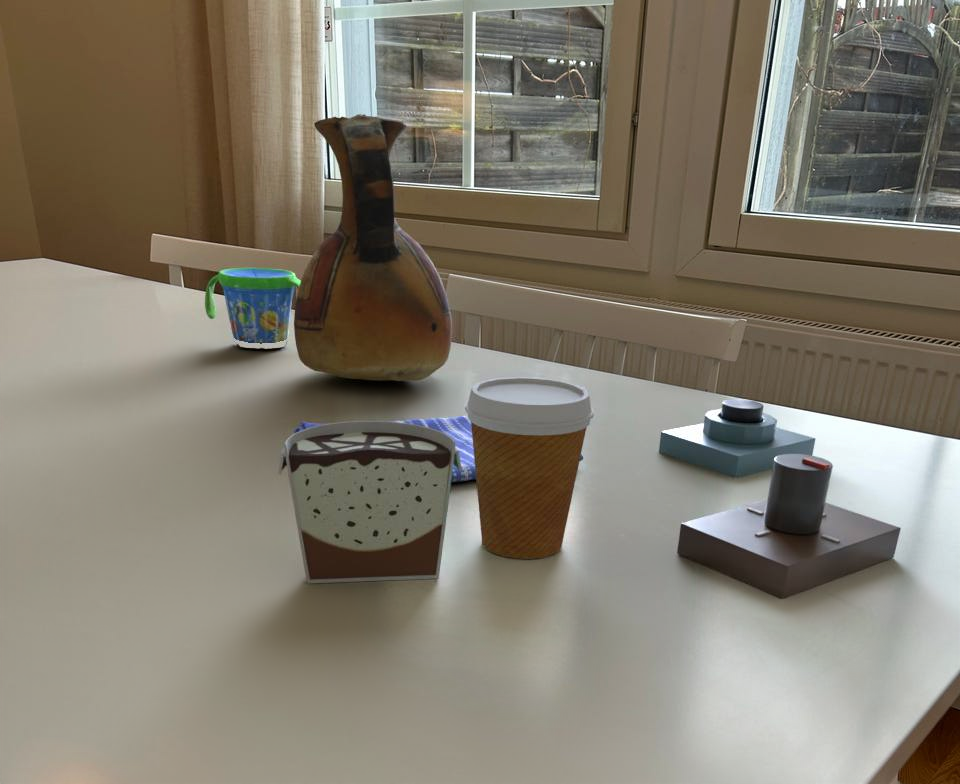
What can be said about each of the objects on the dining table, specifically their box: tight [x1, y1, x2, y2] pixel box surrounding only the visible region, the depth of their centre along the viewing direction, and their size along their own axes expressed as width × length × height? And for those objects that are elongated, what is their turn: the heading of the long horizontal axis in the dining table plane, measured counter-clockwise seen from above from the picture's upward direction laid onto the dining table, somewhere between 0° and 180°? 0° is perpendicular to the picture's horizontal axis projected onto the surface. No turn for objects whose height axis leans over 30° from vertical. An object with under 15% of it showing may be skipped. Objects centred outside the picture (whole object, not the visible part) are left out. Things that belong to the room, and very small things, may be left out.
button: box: [720, 398, 764, 423], centre depth 98 cm, size 4×4×2 cm
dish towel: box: [293, 415, 584, 483], centre depth 95 cm, size 17×24×3 cm
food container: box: [278, 420, 462, 584], centre depth 70 cm, size 12×6×10 cm, turn 100°
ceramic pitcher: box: [293, 113, 453, 382], centre depth 119 cm, size 20×20×30 cm
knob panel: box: [676, 499, 902, 599], centre depth 76 cm, size 14×10×3 cm
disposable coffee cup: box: [464, 376, 595, 560], centre depth 74 cm, size 10×10×12 cm
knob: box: [764, 454, 834, 534], centre depth 74 cm, size 4×4×5 cm
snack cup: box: [204, 267, 301, 344], centre depth 140 cm, size 16×10×10 cm
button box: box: [658, 408, 816, 479], centre depth 100 cm, size 12×10×4 cm
